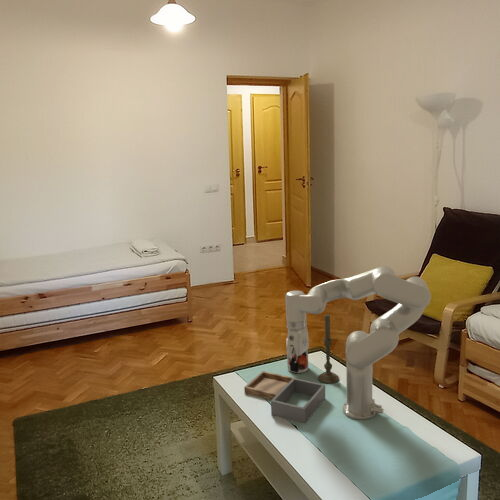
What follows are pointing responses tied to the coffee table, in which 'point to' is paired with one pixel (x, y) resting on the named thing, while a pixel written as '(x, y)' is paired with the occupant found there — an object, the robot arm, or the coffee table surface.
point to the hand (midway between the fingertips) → (298, 366)
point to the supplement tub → (289, 365)
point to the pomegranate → (301, 362)
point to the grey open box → (293, 411)
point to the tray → (267, 385)
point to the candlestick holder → (328, 356)
